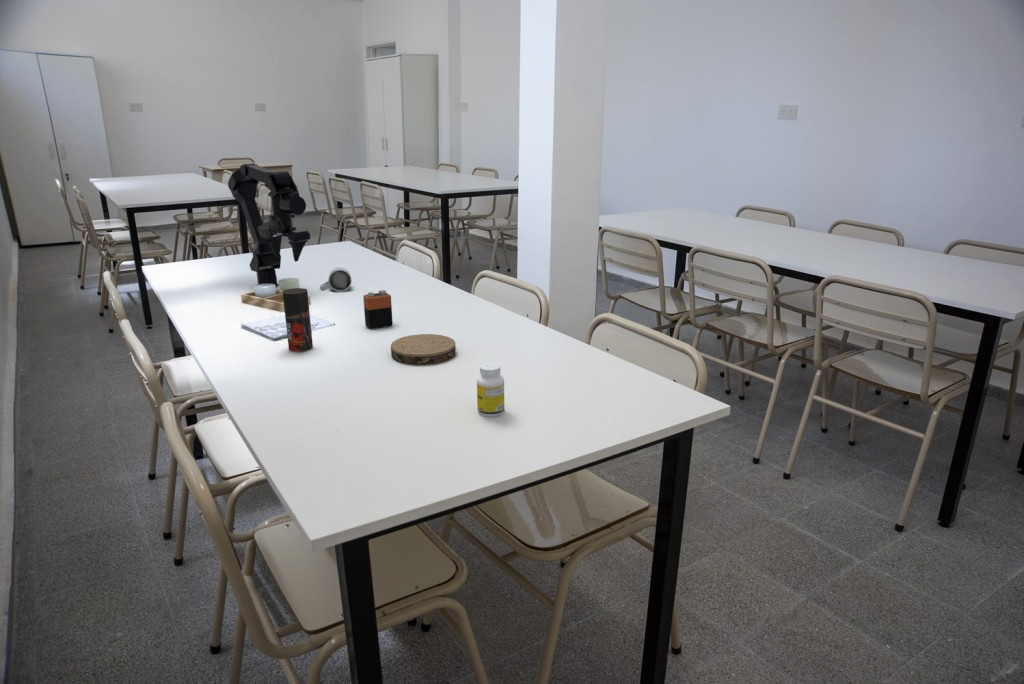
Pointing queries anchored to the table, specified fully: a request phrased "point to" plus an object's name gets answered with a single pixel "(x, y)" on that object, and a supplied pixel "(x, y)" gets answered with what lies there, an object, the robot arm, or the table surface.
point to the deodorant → (297, 319)
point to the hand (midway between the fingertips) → (286, 259)
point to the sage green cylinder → (288, 283)
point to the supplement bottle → (490, 390)
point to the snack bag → (280, 326)
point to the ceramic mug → (338, 280)
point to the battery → (378, 310)
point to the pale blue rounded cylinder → (265, 290)
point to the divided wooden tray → (267, 301)
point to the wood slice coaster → (423, 349)
